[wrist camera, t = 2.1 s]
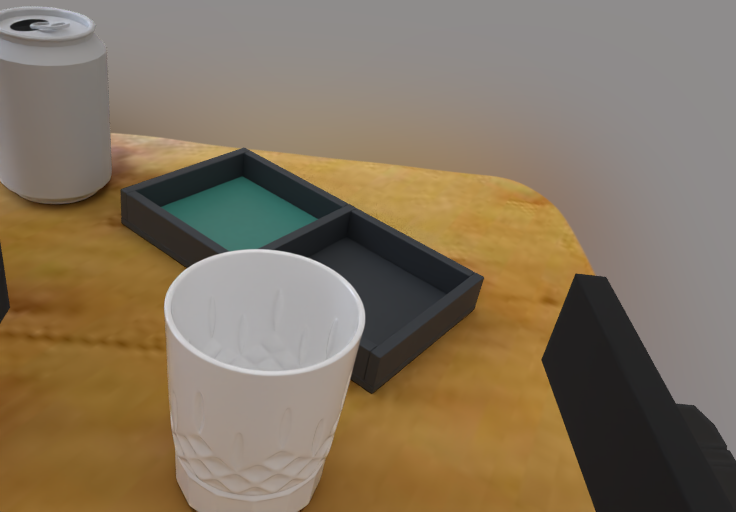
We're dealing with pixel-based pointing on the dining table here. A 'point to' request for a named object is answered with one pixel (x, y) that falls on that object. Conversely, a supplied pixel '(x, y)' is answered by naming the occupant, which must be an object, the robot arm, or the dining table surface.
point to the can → (53, 105)
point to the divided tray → (309, 248)
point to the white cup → (257, 376)
